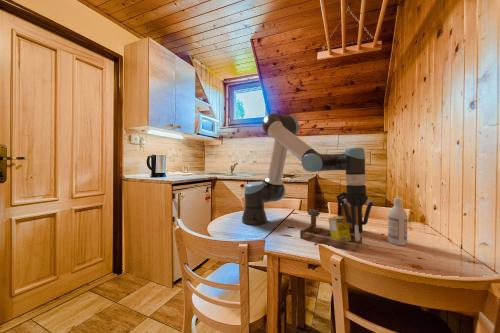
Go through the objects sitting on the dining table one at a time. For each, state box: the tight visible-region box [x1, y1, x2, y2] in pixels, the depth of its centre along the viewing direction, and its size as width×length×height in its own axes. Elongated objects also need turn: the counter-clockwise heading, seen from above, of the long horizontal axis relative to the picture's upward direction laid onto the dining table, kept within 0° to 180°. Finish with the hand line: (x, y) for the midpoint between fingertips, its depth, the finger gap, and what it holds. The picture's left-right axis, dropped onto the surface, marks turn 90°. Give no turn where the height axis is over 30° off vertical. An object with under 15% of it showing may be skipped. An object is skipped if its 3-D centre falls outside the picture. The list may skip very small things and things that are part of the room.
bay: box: [299, 208, 363, 253], centre depth 100 cm, size 26×15×11 cm, turn 50°
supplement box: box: [328, 215, 351, 242], centre depth 96 cm, size 6×6×11 cm
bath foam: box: [387, 197, 409, 246], centre depth 95 cm, size 7×7×20 cm
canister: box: [335, 191, 358, 233], centre depth 112 cm, size 9×11×20 cm
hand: (357, 239), depth 91 cm, fingers closed
